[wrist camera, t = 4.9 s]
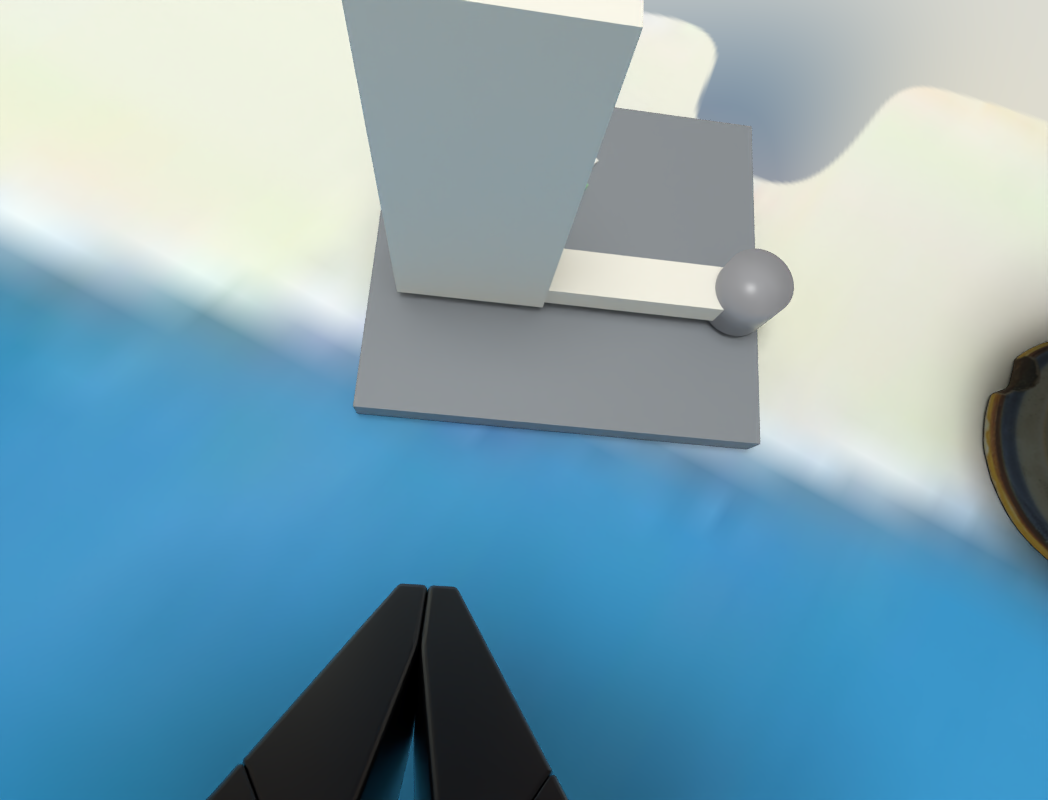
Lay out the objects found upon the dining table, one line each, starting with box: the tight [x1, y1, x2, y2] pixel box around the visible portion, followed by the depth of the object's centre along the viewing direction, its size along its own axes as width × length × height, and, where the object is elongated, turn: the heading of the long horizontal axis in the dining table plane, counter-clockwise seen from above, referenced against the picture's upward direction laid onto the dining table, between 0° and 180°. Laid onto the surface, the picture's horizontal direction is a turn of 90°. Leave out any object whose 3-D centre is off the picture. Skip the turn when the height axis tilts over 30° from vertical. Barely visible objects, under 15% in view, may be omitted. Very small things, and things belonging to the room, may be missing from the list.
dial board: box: [353, 107, 760, 449], centre depth 24 cm, size 13×14×1 cm
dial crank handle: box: [342, 0, 794, 336], centre depth 17 cm, size 2×13×12 cm, turn 86°
